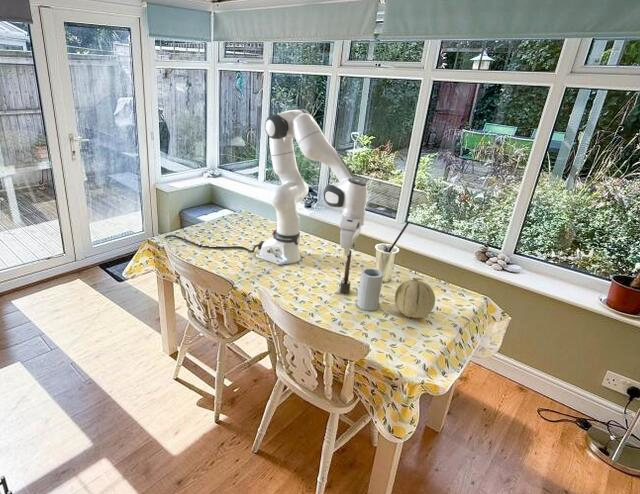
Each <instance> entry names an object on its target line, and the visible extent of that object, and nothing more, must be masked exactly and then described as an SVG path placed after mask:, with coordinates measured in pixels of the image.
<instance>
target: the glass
mask: <svg viewBox="0 0 640 494" xmlns="http://www.w3.org/2000/svg"><path fill="white" fill-rule="evenodd" d="M409 224H410V223H409V222H407V221H406V223H405V225H404V226H403V228H402V229H401V231H400V232H399V234H398V236H397V237H396V238H395V240H394V242H393V243H392V244H389V243H378V244H376V245H375V247H374V248H375V269H378V270H380V271H381V272H382V273H383V278H382V283H386V282H390V280H391V275H392V271H393V268H394V265H395V263H396V259H397V256H398V253H399V251H400V248H398V247H397V246H396V244H397V243H398V241H399V240H400V238H401V236H402V235H403V233H404V232H405V230H406V229H407V227H408V226H409Z"/></svg>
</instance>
